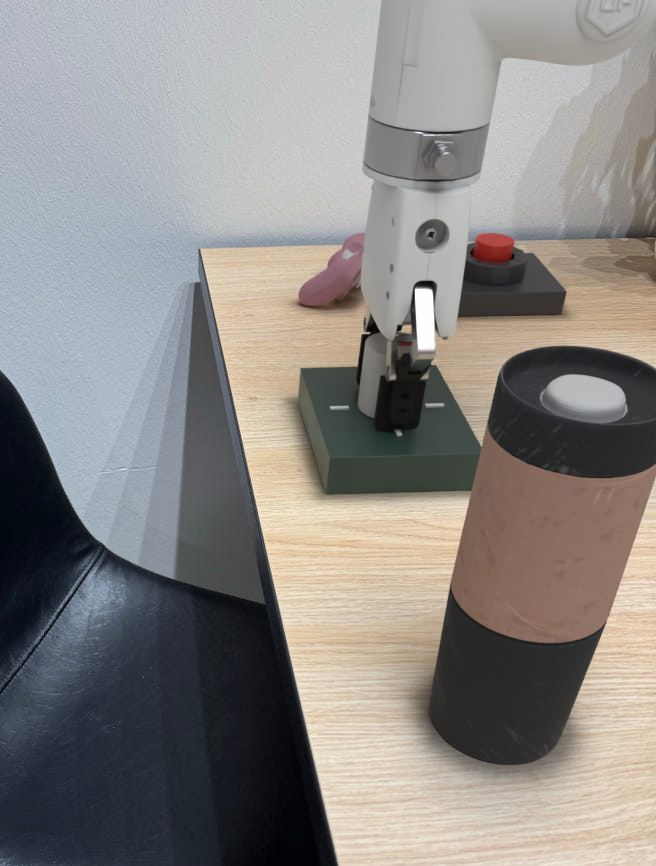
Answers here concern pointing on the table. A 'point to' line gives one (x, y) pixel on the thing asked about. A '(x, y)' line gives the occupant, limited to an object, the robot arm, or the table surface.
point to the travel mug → (543, 546)
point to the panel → (385, 438)
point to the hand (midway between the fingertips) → (386, 403)
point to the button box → (509, 287)
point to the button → (493, 247)
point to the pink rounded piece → (336, 274)
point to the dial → (374, 370)
